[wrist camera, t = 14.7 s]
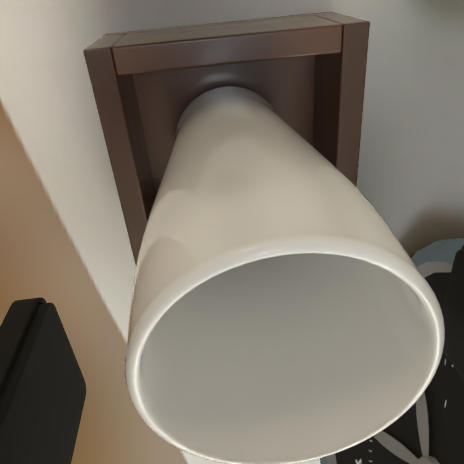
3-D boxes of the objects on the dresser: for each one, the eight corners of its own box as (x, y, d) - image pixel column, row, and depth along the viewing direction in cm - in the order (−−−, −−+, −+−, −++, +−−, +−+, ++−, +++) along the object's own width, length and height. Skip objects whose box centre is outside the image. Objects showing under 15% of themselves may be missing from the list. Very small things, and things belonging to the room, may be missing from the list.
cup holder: (147, 230, 25) (139, 281, 21) (104, 33, 19) (82, 49, 15) (324, 210, 25) (350, 255, 21) (332, 11, 20) (370, 21, 16)
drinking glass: (317, 150, 22) (493, 387, 9) (213, 219, 24) (243, 502, 11) (246, 35, 19) (368, 158, 6) (131, 123, 21) (41, 365, 8)
